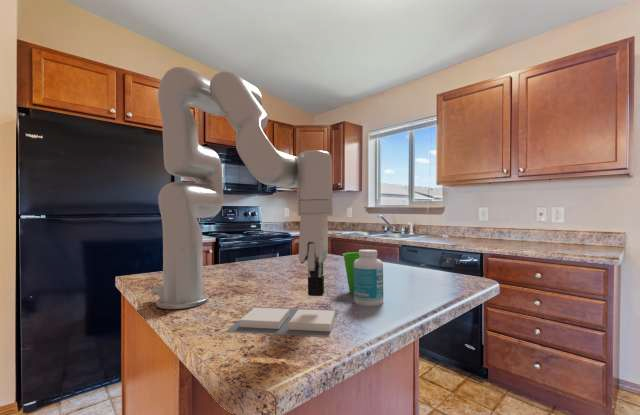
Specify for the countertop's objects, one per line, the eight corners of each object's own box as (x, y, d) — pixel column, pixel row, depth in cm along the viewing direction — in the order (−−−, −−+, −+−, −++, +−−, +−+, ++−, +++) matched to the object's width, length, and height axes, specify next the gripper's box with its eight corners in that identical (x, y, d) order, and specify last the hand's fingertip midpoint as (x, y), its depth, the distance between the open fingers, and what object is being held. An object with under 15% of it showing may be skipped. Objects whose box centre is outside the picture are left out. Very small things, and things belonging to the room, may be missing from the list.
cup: (379, 290, 92) (378, 253, 92) (366, 298, 84) (365, 257, 84) (351, 287, 96) (351, 251, 97) (337, 293, 89) (336, 255, 89)
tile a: (254, 314, 69) (239, 327, 61) (254, 307, 69) (239, 319, 61) (289, 316, 68) (279, 329, 60) (289, 308, 68) (279, 321, 60)
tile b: (298, 316, 68) (289, 330, 60) (298, 309, 68) (289, 322, 60) (335, 318, 66) (330, 332, 58) (335, 310, 66) (330, 324, 58)
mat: (225, 334, 59) (225, 331, 59) (255, 309, 75) (255, 306, 75) (328, 340, 56) (328, 337, 56) (338, 312, 72) (337, 309, 72)
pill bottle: (383, 308, 74) (382, 252, 75) (352, 307, 76) (351, 251, 76) (383, 300, 82) (382, 248, 82) (355, 299, 83) (354, 248, 83)
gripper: (305, 209, 75) (305, 286, 74) (289, 209, 60) (290, 304, 60) (336, 209, 74) (337, 287, 73) (327, 208, 59) (328, 306, 59)
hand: (316, 294), depth 66 cm, fingers closed
